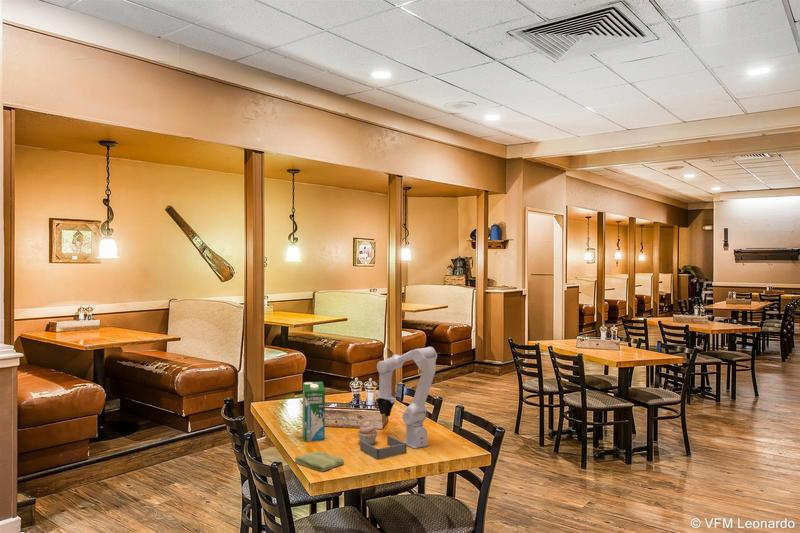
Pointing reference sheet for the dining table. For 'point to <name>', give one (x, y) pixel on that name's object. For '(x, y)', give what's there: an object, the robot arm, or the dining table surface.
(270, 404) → the dining table surface
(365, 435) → the cupcake
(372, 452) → the box
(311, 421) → the milk carton
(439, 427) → the dining table surface
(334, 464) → the washcloth
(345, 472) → the dining table surface
